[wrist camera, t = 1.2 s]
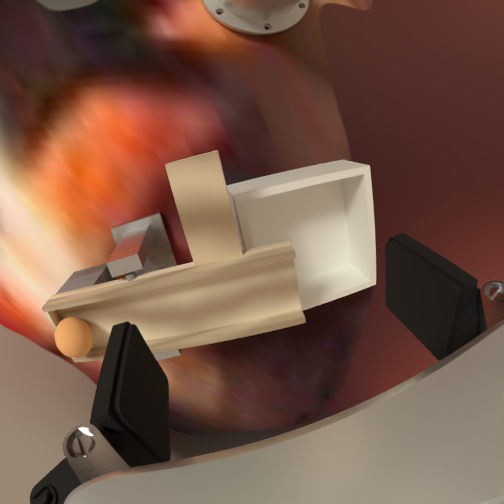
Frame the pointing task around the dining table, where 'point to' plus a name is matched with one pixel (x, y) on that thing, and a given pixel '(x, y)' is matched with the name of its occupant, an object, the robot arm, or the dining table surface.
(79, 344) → the ball
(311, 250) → the bin
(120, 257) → the lever stand
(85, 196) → the dining table surface
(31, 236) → the dining table surface
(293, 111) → the dining table surface
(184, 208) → the lever
